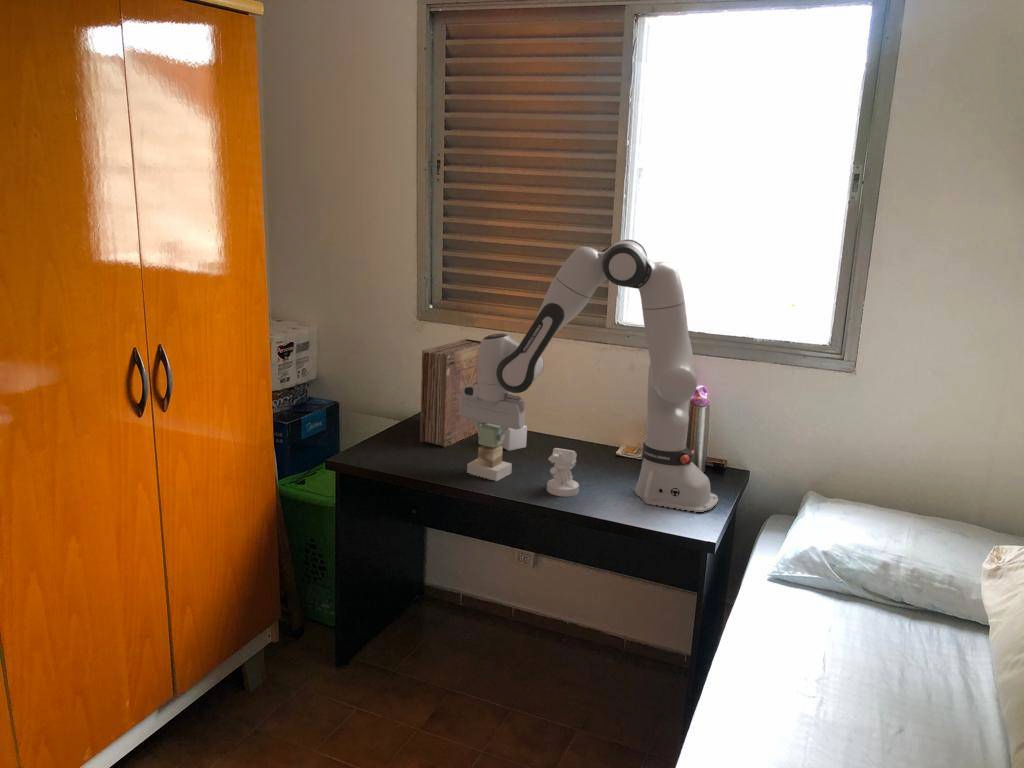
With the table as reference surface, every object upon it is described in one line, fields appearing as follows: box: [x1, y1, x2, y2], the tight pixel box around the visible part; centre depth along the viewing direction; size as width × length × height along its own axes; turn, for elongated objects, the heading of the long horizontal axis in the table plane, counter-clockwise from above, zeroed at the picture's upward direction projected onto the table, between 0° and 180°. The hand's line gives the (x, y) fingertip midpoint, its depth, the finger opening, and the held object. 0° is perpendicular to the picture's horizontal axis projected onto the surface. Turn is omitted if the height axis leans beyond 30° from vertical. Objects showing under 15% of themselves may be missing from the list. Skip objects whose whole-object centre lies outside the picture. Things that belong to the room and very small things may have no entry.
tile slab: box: [466, 458, 513, 482], centre depth 234 cm, size 10×8×3 cm
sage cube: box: [478, 423, 503, 447], centre depth 231 cm, size 5×5×5 cm
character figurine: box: [546, 447, 580, 497], centre depth 223 cm, size 9×10×12 cm
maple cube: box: [477, 445, 504, 468], centre depth 233 cm, size 5×5×5 cm
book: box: [419, 338, 487, 449], centre depth 263 cm, size 25×9×30 cm, turn 150°
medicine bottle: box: [498, 424, 528, 452], centre depth 257 cm, size 7×7×12 cm
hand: (490, 438), depth 231 cm, fingers closed on sage cube, 5 cm apart
